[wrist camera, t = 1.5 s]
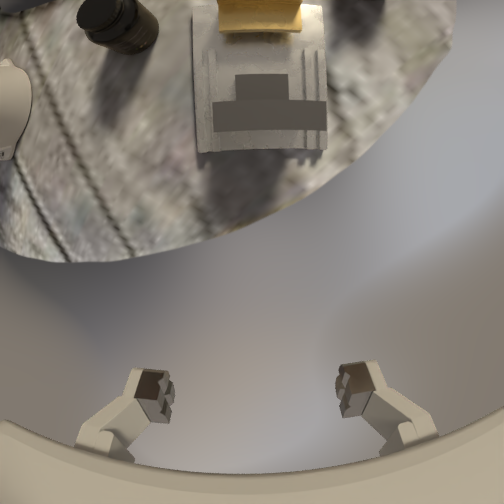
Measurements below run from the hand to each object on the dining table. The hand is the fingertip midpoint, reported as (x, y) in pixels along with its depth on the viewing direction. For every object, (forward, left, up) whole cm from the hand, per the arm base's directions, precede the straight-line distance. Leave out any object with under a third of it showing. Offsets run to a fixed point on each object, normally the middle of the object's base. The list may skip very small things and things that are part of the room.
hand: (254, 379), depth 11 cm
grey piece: (+2, +15, -30) cm, 33 cm away
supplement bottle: (-14, +24, -30) cm, 41 cm away
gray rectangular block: (+2, +12, -28) cm, 30 cm away
